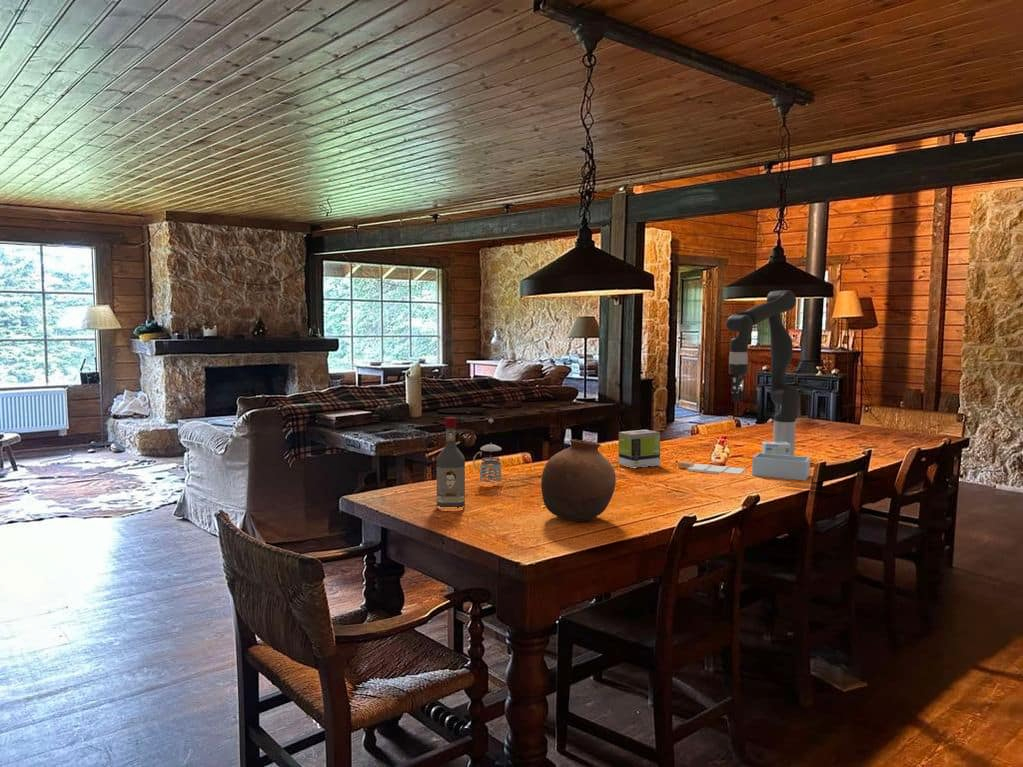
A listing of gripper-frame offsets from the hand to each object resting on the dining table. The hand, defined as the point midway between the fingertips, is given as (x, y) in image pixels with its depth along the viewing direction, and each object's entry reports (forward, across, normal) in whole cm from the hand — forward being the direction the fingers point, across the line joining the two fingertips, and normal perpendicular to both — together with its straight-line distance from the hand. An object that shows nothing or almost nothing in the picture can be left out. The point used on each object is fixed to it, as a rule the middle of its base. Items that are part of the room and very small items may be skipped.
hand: (737, 401), depth 312 cm
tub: (+28, +12, +20) cm, 36 cm away
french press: (+28, +79, -75) cm, 113 cm away
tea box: (+28, +16, -37) cm, 49 cm away
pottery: (+28, +108, -26) cm, 115 cm away
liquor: (+28, +116, -68) cm, 137 cm away
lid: (+28, +12, -8) cm, 32 cm away
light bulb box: (+28, -8, +15) cm, 33 cm away
